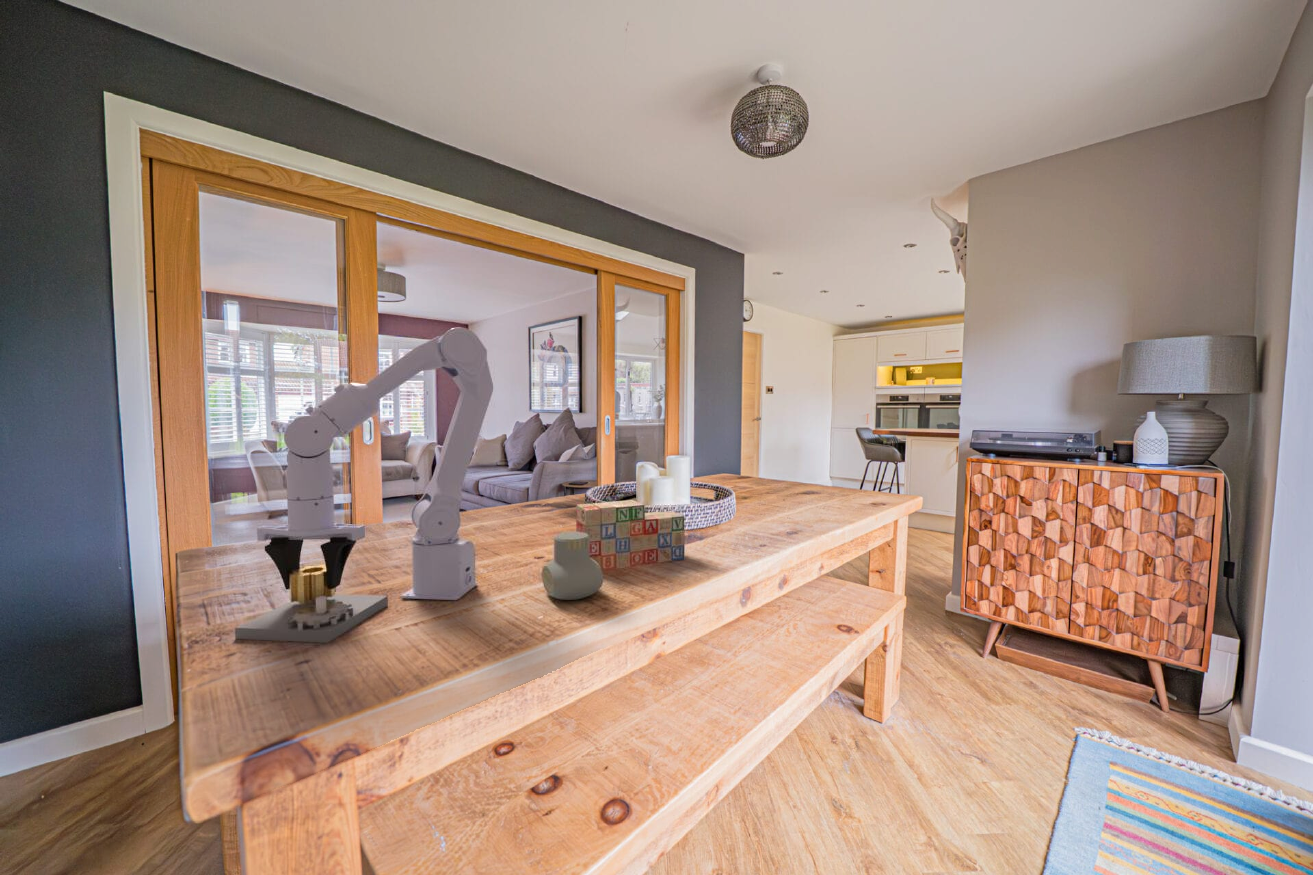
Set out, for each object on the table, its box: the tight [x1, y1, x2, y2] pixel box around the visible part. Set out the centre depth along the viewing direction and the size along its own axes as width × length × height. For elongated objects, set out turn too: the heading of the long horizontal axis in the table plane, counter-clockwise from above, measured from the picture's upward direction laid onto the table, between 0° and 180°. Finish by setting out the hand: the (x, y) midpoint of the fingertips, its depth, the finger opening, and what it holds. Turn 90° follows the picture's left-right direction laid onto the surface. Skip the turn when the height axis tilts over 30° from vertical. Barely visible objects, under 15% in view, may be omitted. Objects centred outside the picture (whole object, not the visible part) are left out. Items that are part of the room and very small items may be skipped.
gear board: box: [234, 593, 389, 644], centre depth 73 cm, size 13×13×4 cm
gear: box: [287, 601, 353, 631], centre depth 70 cm, size 8×8×1 cm
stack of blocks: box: [575, 499, 686, 571], centre depth 103 cm, size 21×6×12 cm, turn 115°
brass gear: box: [289, 563, 337, 604], centre depth 76 cm, size 6×6×4 cm
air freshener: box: [541, 531, 604, 601], centre depth 85 cm, size 11×8×10 cm
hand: (313, 587), depth 76 cm, fingers closed on brass gear, 5 cm apart
